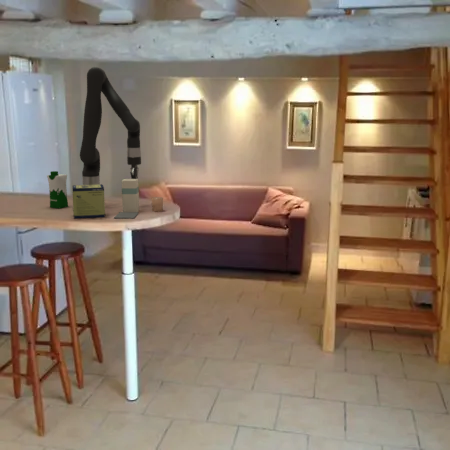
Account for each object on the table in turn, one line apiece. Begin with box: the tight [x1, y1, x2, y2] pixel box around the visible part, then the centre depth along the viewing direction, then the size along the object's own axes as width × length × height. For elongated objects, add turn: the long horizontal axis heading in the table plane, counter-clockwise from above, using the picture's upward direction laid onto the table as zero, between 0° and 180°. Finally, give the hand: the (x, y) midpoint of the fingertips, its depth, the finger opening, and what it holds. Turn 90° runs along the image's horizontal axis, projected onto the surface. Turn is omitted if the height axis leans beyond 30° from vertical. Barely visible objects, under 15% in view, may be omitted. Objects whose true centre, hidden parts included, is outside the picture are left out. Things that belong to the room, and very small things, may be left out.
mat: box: [113, 211, 140, 220], centre depth 273 cm, size 10×14×1 cm
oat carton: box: [121, 178, 140, 212], centre depth 283 cm, size 8×8×17 cm
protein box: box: [72, 183, 106, 220], centre depth 270 cm, size 10×16×16 cm
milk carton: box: [46, 170, 69, 209], centre depth 294 cm, size 9×9×20 cm
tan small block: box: [151, 196, 164, 213], centre depth 286 cm, size 6×6×7 cm
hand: (135, 187), depth 296 cm, fingers closed
